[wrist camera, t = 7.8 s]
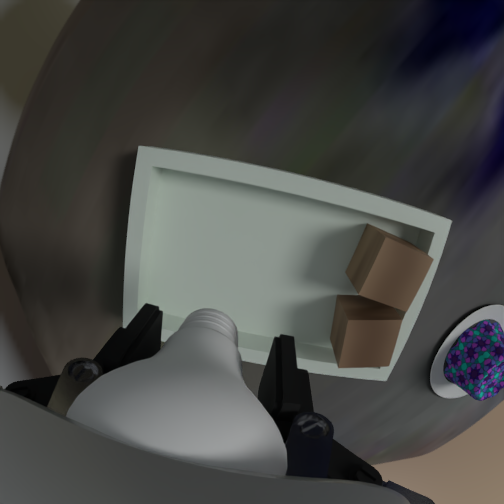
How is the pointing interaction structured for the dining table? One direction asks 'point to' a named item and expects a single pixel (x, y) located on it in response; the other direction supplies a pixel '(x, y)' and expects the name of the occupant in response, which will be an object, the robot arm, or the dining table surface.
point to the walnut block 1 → (387, 268)
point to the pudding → (472, 357)
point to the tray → (259, 251)
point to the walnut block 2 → (363, 332)
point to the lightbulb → (188, 401)
